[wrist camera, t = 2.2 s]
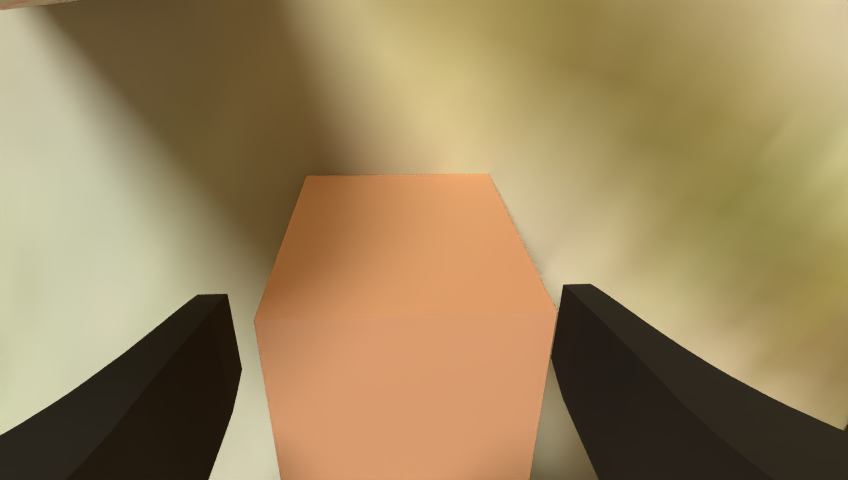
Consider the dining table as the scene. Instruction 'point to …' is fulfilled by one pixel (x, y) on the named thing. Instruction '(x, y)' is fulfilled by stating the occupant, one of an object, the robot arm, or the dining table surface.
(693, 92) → the dining table surface
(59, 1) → the energy drink
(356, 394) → the peach foam cube
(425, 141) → the dining table surface
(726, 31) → the dining table surface
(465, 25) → the dining table surface
